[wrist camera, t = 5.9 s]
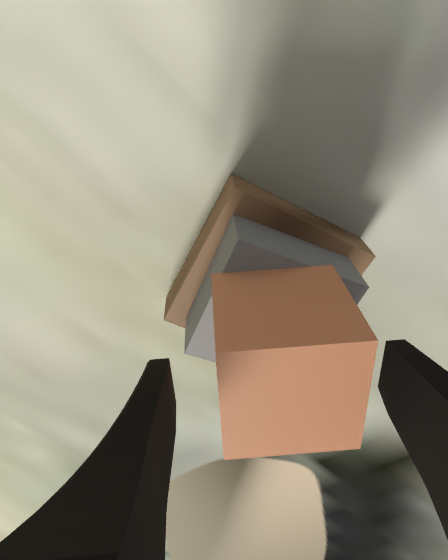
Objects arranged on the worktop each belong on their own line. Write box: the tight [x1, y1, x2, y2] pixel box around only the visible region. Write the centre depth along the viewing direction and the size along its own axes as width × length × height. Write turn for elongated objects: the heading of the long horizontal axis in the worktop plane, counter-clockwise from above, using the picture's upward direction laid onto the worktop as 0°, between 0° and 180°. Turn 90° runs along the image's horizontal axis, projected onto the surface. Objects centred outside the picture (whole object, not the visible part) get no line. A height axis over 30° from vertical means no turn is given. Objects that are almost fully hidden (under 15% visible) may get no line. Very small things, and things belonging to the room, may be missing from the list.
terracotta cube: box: [211, 265, 378, 460], centre depth 14 cm, size 4×4×4 cm
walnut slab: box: [164, 174, 376, 328], centre depth 20 cm, size 7×7×2 cm
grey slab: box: [184, 214, 369, 362], centre depth 18 cm, size 6×6×2 cm
